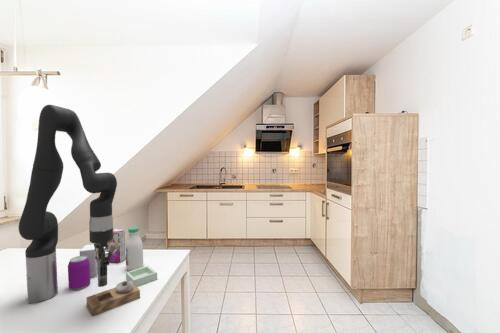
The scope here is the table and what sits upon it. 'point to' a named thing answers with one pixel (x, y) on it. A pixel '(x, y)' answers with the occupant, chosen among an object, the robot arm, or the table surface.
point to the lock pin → (101, 280)
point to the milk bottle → (134, 250)
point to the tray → (141, 275)
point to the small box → (90, 259)
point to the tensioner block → (113, 297)
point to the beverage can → (78, 272)
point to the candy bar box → (117, 246)
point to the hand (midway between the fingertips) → (102, 273)
